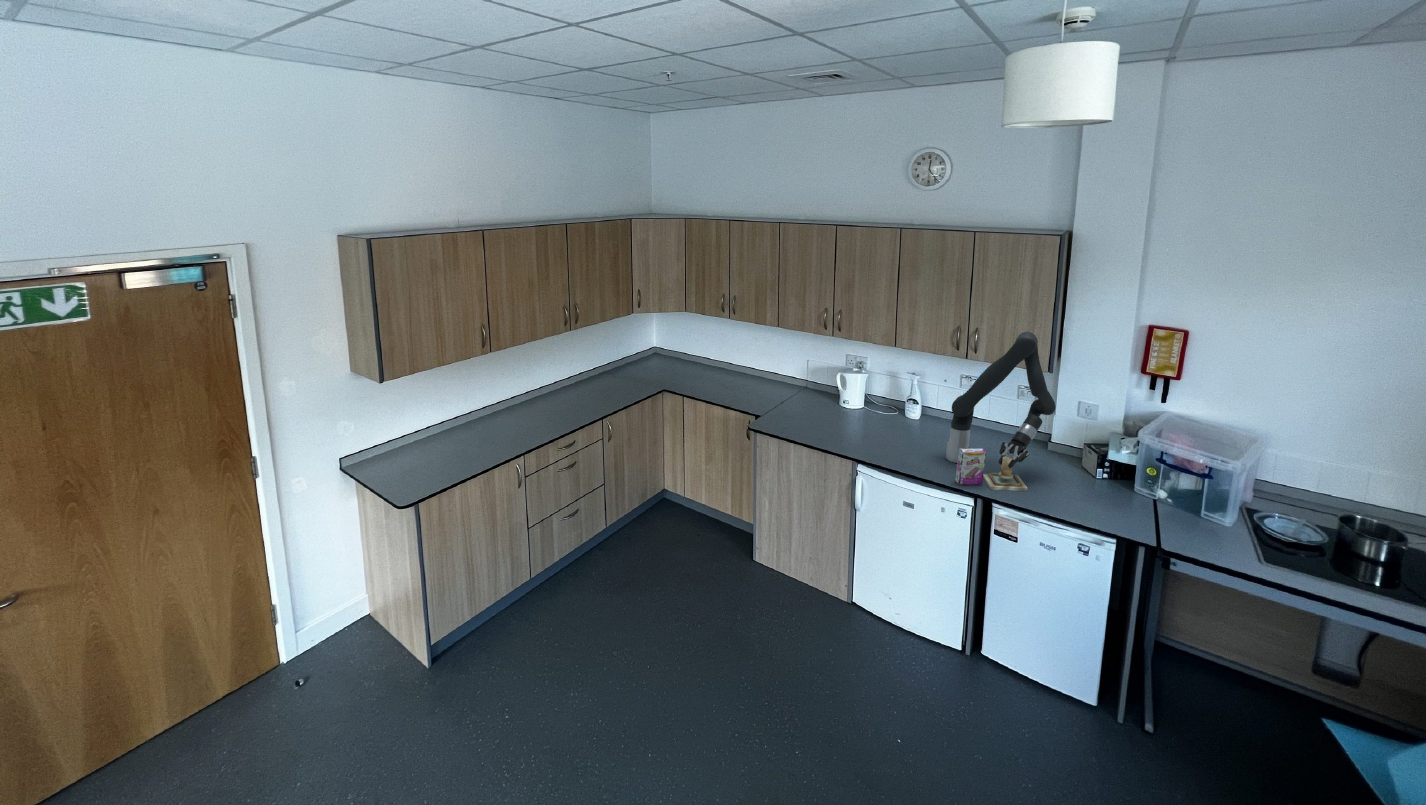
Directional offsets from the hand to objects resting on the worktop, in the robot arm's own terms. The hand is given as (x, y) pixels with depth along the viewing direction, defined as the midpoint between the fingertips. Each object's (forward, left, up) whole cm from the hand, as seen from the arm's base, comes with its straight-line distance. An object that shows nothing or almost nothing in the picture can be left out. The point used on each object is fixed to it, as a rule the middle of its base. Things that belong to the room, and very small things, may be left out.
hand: (1004, 465), depth 324 cm
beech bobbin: (0, +2, -6) cm, 6 cm away
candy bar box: (-10, -11, -10) cm, 18 cm away
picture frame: (0, +2, -10) cm, 10 cm away
